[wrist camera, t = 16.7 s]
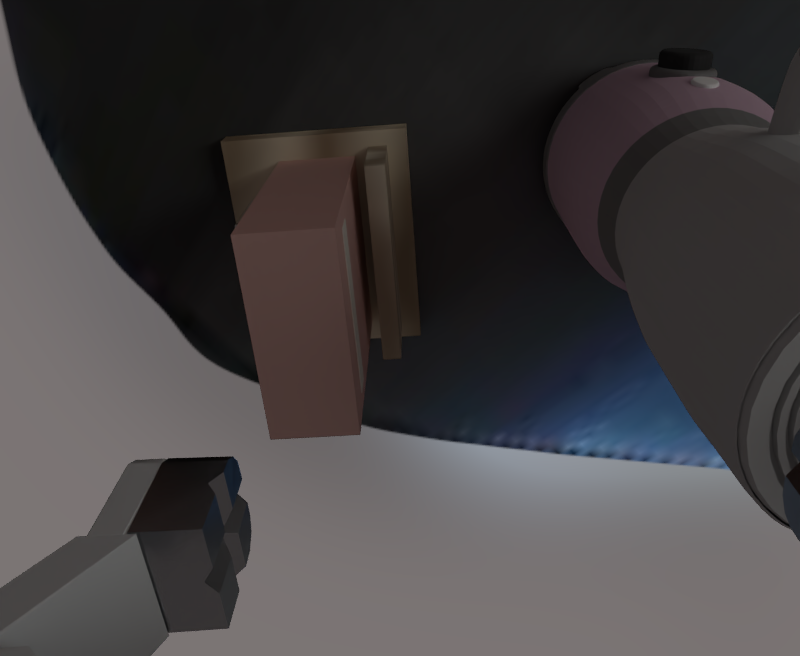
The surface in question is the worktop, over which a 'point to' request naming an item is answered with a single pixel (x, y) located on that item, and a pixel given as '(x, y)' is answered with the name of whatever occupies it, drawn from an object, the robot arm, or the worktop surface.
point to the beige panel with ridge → (379, 200)
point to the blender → (697, 241)
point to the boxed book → (307, 297)
